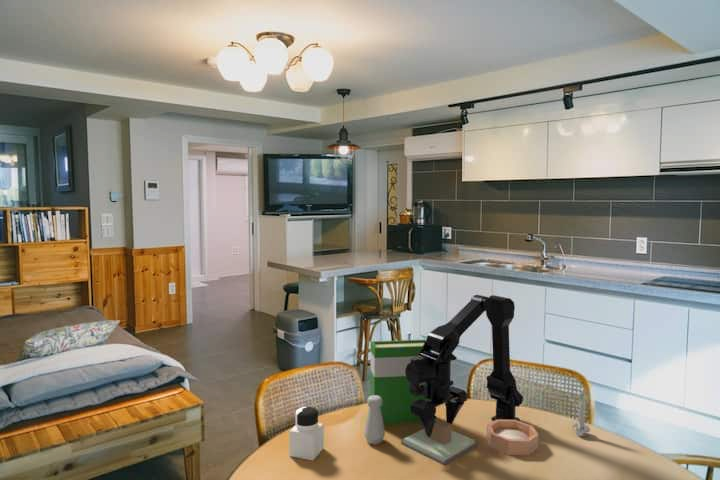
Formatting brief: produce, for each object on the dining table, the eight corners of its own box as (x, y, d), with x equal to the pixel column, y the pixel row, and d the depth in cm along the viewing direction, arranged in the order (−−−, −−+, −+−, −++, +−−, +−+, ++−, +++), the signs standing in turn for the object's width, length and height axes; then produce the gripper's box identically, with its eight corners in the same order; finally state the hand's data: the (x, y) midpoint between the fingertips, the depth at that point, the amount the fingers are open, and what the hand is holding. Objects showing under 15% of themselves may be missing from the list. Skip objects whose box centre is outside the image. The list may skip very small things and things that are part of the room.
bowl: (503, 428, 147) (503, 415, 146) (544, 444, 137) (545, 430, 137) (479, 442, 138) (479, 428, 137) (521, 460, 128) (521, 445, 128)
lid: (435, 426, 146) (435, 407, 146) (474, 443, 136) (475, 422, 135) (403, 441, 137) (404, 421, 136) (443, 461, 126) (444, 439, 126)
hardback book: (423, 411, 158) (424, 339, 156) (429, 421, 151) (431, 346, 149) (370, 414, 155) (370, 341, 154) (374, 425, 148) (374, 348, 146)
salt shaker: (382, 447, 135) (383, 401, 134) (362, 445, 136) (363, 400, 135) (386, 437, 140) (386, 393, 139) (366, 435, 141) (366, 392, 140)
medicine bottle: (324, 448, 134) (324, 406, 133) (313, 461, 127) (313, 417, 126) (300, 444, 136) (300, 402, 135) (288, 456, 129) (288, 412, 128)
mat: (434, 427, 147) (434, 425, 147) (476, 445, 136) (476, 443, 136) (400, 443, 137) (400, 441, 137) (443, 464, 126) (443, 462, 126)
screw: (593, 436, 142) (581, 439, 140) (580, 429, 146) (568, 432, 144) (595, 393, 141) (583, 396, 139) (582, 387, 145) (569, 389, 143)
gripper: (437, 362, 147) (436, 412, 148) (395, 377, 134) (395, 431, 136) (468, 372, 139) (467, 424, 140) (427, 388, 126) (426, 446, 127)
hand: (438, 431), depth 136 cm, fingers open, 9 cm apart
